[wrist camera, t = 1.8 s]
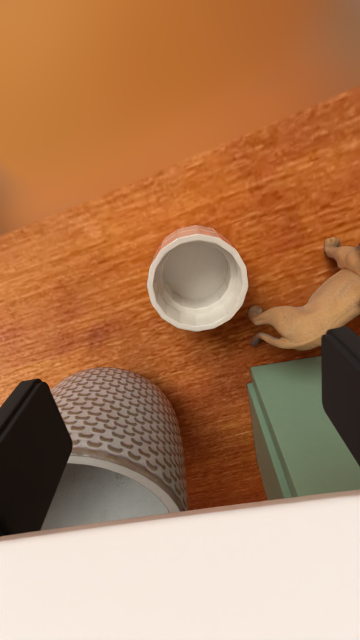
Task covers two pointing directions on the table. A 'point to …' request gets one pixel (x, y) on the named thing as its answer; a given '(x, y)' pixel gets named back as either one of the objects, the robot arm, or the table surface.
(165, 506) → the planter
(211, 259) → the bowl
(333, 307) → the lion figurine
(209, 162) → the table surface
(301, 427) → the stand
